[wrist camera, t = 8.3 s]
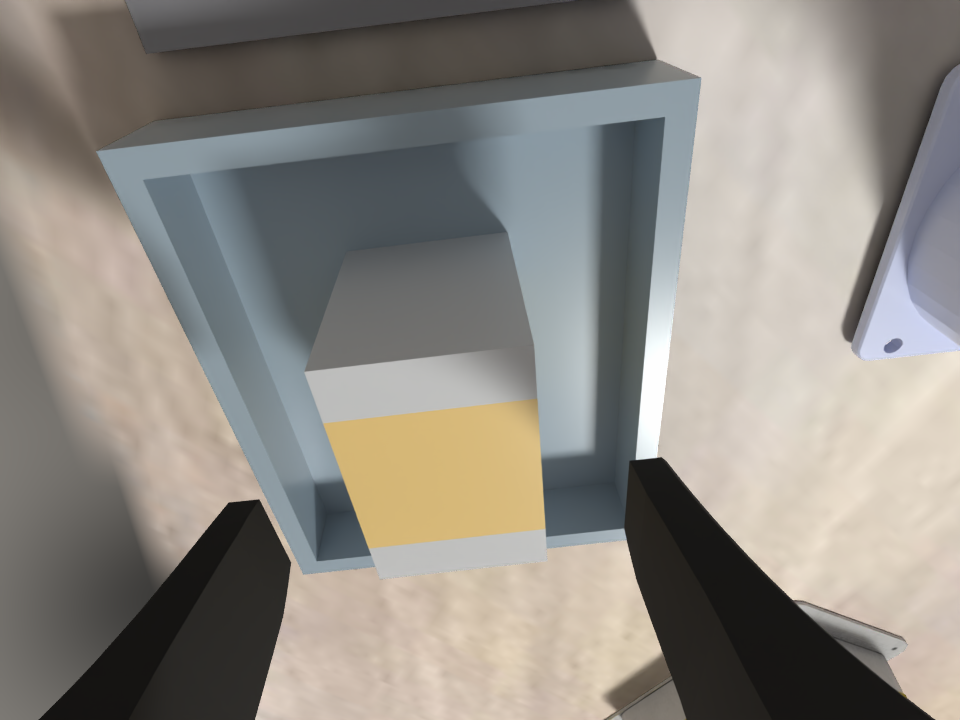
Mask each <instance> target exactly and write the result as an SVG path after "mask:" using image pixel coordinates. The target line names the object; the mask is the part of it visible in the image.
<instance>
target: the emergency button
mask: <svg viewBox="0 0 960 720" xmlns="http://www.w3.org/2000/svg"><path fill="white" fill-rule="evenodd" d="M794 602H795V603H796V604H797V605H798V606H799V607H800V608H801V609H802V610H803V611H805V612H806V613H807V614H808V615H809V616H810V617H811V618H812V619H813V620H814V621H815V622H816V623H818V624H819V625H820V626H821V627H822V628H823V629H824V630H825V631H827V632H828V633H829V634H830V635H831V636H832V637H833V638H835V639H836V640H837V641H838V642H839V643H840V644H841V645H843V646H844V647H845V648H846V649H847V650H848V651H849V652H851V653H852V654H853V655H854V656H855V657H857V658H858V659H859V660H860V661H861V662H863V663H864V664H865V665H866V666H867V667H869V668H870V669H871V670H872V671H873V672H875V673H876V674H877V675H878V676H879V677H881V678H882V679H883V680H884V681H885V682H887V683H888V684H889V685H890V686H892V687H893V688H894V689H896V690H897V691H898V692H900V693H901V694H902V695H903V696H905V697H906V695H905V694H904V693H903V691H902V689H901V687H900V685H899V683H898V682H897V680H896V678H895V676H894V674H893V672H892V670H891V668H890V666H889V664H888V662H887V661H888V660H890V659H892V658H894V657H896V656H897V655H899V654H900V653H902V652H903V651H904V650H905V649H906V647H907V646H908V644H907V643H906V641H905V640H904V639H903V638H902V637H899V636H896V635H893V634H891V633H888V632H885V631H882V630H880V629H877V628H874V627H871V626H869V625H866V624H863V623H860V622H858V621H855V620H852V619H849V618H847V617H844V616H841V615H838V614H836V613H833V612H830V611H827V610H825V609H822V608H819V607H816V606H814V605H811V604H808V603H805V602H799V601H794ZM906 698H907V697H906ZM606 720H686V717H685V714H684V711H683V708H682V704H681V701H680V698H679V695H678V693H677V690H676V687H675V685H674V682H673V679H672V676H670V677H669V678H667V679H666V680H664V681H663V682H661V683H660V684H658V685H657V686H655V687H654V688H652V689H651V690H649V691H648V692H646V693H645V694H643V695H642V696H640V697H639V698H637V699H636V700H634V701H633V702H631V703H630V704H628V705H627V706H625V707H624V708H622V709H621V710H619V711H618V712H616V713H615V714H613V715H612V716H610V717H609V718H607V719H606Z"/></svg>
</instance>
